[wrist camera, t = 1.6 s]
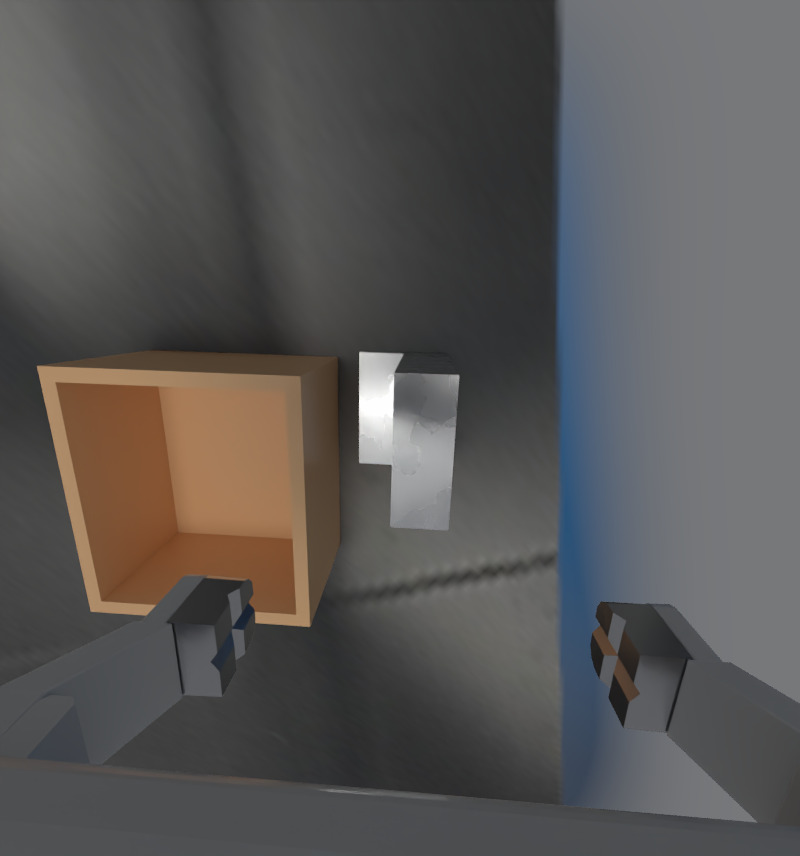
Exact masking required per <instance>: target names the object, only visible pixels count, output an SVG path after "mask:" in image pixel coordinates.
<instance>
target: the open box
mask: <svg viewBox="0 0 800 856" xmlns="http://www.w3.org/2000/svg"><path fill="white" fill-rule="evenodd" d="M37 368H38V373H39V377H40V382H41V386H42V391H43V395H44V400H45V405H46V409H47V414H48V418H49V423H50V427H51V432H52V436H53V441H54V446H55V450H56V455H57V459H58V464H59V468H60V473H61V477H62V482H63V487H64V491H65V496H66V500H67V505H68V509H69V514H70V518H71V523H72V528H73V532H74V537H75V541H76V546H77V550H78V555H79V560H80V564H81V569H82V573H83V578H84V582H85V587H86V591H87V596H88V601H89V605H90V610H91V612H104V613H119V614H133V615H147V614H148V613H149V612H150V611H151V610H152V609H153V608H154V607H155V606H156V605H157V604H158V603H159V602H160V601H161V599H162V598H163V597H164V596H165V595H166V594H167V593H168V592H169V591H170V590H171V589H172V588H173V587H174V586H175V584H176V583H177V582H178V581H179V580H180V579H181V578H182V577H183V576H185V575H188V574H196V575H207V576H209V575H211V576H223V577H234V578H246V579H249V580H251V581H252V585H253V593H254V594H253V596H252V597H251V599H250V601H249V603H250V605H251V606H252V607H253V608H254V609H255V623H263V624H278V625H292V626H307V627H310V626H311V623H312V620H313V617H314V615H315V612H316V609H317V606H318V604H319V601H320V598H321V595H322V593H323V590H324V587H325V584H326V582H327V579H328V576H329V573H330V571H331V568H332V565H333V562H334V560H335V557H336V554H337V551H338V549H339V546H340V480H339V402H338V357H326V356H299V355H271V354H244V353H217V352H190V351H163V350H149V351H142V352H134V353H127V354H120V355H113V356H106V357H98V358H91V359H84V360H77V361H69V362H62V363H55V364H48V365H41V366H37Z"/></svg>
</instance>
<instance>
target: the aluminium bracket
mask: <svg viewBox="0 0 800 856" xmlns="http://www.w3.org/2000/svg"><path fill="white" fill-rule="evenodd" d="M458 389H459V373H458V372H457V370H456V368H455V366H454V364H453V363H452V361H451V359H450V357H449V355H448V354H443V353H415V352H388V351H360V352H359V463H367V464H387V465H392V479H391V517H390V527H397V528H415V529H432V530H449V516H450V502H451V488H452V474H453V460H454V446H455V432H456V418H457V404H458Z"/></svg>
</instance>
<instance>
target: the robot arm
mask: <svg viewBox="0 0 800 856" xmlns="http://www.w3.org/2000/svg"><path fill="white" fill-rule="evenodd" d="M253 594H254V593H253V585H252V581H251V580H249V579H246V578H234V577H223V576H211V575H209V576H207V575H196V574H188V575H185V576H183V577H182V578H181V579H180V580H179V581H178V582H177V583H176V584H175V586H174V587H173V588H172V589H171V590H170V591H169V592H168V593H167V594H166V595H165V596H164V597H163V598H162V599H161V601H160V602H159V603H158V604H157V605H156V606H155V607H154V608H153V609H152V610H151V611H150V612H149V613H148V614H147V616H146V617H145V618H144V619H143V620H142V621H133V622H131V623H129V624H127V625H125V626H123V627H121V628H119V629H117V630H115V631H113V632H111V633H109V634H107V635H105V636H103V637H101V638H99V639H97V640H94V641H92V642H90V643H88V644H86V645H84V646H82V647H80V648H78V649H76V650H74V651H72V652H70V653H68V654H66V655H64V656H62V657H60V658H58V659H56V660H54V661H52V662H49V663H47V664H45V665H43V666H41V667H39V668H37V669H35V670H33V671H31V672H29V673H27V674H25V675H23V676H21V677H19V678H17V679H15V680H13V681H11V682H9V683H7V684H4V685H2V686H0V856H800V703H798V702H796V701H794V700H793V699H791V698H789V697H788V696H786V695H784V694H783V693H781V692H779V691H778V690H776V689H774V688H773V687H771V686H769V685H767V684H766V683H764V682H762V681H761V680H759V679H757V678H756V677H754V676H752V675H750V674H749V673H747V672H746V671H744V670H742V669H741V668H739V667H737V666H735V665H734V664H732V663H728V662H722V660H721V659H720V658H719V657H718V656H717V655H716V654H715V652H714V651H713V650H712V649H711V648H710V647H709V645H707V643H706V642H705V641H704V640H703V639H702V638H701V636H700V635H699V634H698V633H697V632H696V631H695V629H694V628H693V627H692V626H691V625H690V624H689V622H688V621H687V620H686V619H685V618H684V617H683V616H682V614H681V613H680V612H679V611H678V610H677V609H676V608H675V607H673V606H672V605H670V604H649V603H647V604H633V603H618V602H600V604H599V605H598V607H597V612H596V618H597V620H598V622H599V623H600V626H599V627H598V628H597V629H596V630H595V631H594V632H593V633H592V639H591V656H592V661H593V664H594V668H595V670H596V673H597V675H598V677H599V679H600V680H601V681H603V682H604V683H605V684H606V685H607V686H609V687H610V693H609V700H610V702H611V704H612V706H613V708H614V710H615V712H616V714H617V716H618V718H619V720H620V722H621V724H622V726H623V728H627V729H636V730H646V731H655V732H663V733H667V736H668V737H669V738H671V739H672V740H673V741H674V742H675V743H676V744H677V745H678V746H679V747H680V748H681V749H682V750H683V751H684V752H686V754H687V755H688V756H689V757H690V758H691V759H693V760H694V761H695V762H696V763H697V764H698V765H699V766H700V767H701V768H702V769H703V770H704V771H705V772H706V773H707V774H708V775H709V776H710V777H711V778H712V779H713V780H714V781H716V783H718V785H720V786H721V787H722V788H723V789H724V790H725V791H726V792H727V793H728V794H729V795H730V796H731V797H732V798H733V799H734V800H735V801H736V802H737V803H738V804H739V805H740V806H741V807H743V809H745V810H746V811H747V812H748V813H749V814H750V815H751V816H752V817H753V818H754V819H755V820H756V821H757V822H758V823H755V822H743V821H732V820H721V819H710V818H698V817H687V816H676V815H675V816H674V815H664V814H653V813H642V812H630V811H619V810H608V809H596V808H585V807H573V806H562V805H551V804H540V803H528V802H517V801H506V800H494V799H483V798H472V797H460V796H449V795H438V794H426V793H415V792H403V791H392V790H381V789H369V788H358V787H347V786H335V785H324V784H312V783H301V782H290V781H278V780H267V779H256V778H244V777H233V776H221V775H210V774H199V773H187V772H176V771H164V770H153V769H142V768H130V767H119V766H108V765H101V764H102V763H103V762H105V761H106V760H107V759H108V758H109V757H111V756H112V755H113V754H114V753H115V752H117V751H118V750H119V749H120V748H122V747H123V746H124V745H125V744H126V743H128V742H129V741H130V740H131V739H132V738H134V737H135V736H136V735H137V734H139V733H140V732H141V731H142V730H143V729H145V728H146V727H147V726H148V725H150V724H151V723H152V722H153V721H154V720H156V719H157V718H158V717H159V716H160V715H162V714H163V713H164V712H165V711H167V710H168V709H169V708H170V707H171V706H173V705H174V704H175V703H176V702H177V701H179V700H180V699H181V698H182V697H183V696H182V695H196V696H217V697H222V696H223V694H224V692H225V691H226V689H227V687H228V685H229V683H230V681H231V679H232V677H233V676H234V674H235V672H236V670H237V669H236V659H238V658H239V657H241V656H242V655H244V654H245V653H246V651H247V649H248V647H249V645H250V643H251V640H252V636H253V633H254V629H255V609H254V608H253V607H252V606H251V605H250V603H249V601H250V599H251V597H252V596H253Z"/></svg>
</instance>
